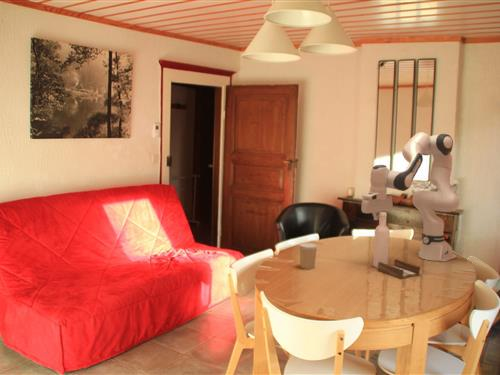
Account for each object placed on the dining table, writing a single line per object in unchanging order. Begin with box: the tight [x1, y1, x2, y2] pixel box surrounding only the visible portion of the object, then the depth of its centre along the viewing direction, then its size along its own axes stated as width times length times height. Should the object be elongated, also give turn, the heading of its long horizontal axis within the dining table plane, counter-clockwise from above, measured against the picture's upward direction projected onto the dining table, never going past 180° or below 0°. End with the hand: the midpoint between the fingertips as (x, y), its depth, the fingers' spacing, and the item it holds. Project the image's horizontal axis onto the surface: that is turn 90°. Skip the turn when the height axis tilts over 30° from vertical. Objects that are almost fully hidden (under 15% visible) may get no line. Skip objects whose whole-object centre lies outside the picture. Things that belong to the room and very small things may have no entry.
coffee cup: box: [299, 242, 318, 270], centre depth 274 cm, size 9×9×12 cm
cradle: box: [377, 258, 421, 280], centre depth 266 cm, size 14×16×4 cm
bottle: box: [372, 211, 390, 269], centre depth 276 cm, size 8×8×30 cm
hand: (376, 219), depth 278 cm, fingers closed
